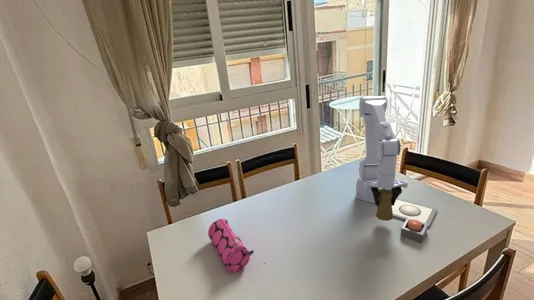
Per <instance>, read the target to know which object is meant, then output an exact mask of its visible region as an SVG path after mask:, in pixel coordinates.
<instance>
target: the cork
mask: <svg viewBox="0 0 534 300" xmlns="http://www.w3.org/2000/svg"><path fill="white" fill-rule="evenodd" d="M379 192H380V194H379V203H378V206H376V207H377V208H376V212H375V217H376V218H377V219H378V220H381V221H385V222H387V221H391V220H393V218H394V217H393V212H392V203H391V198H392V197H393V192H392V191H391V190H386V189H385V188H380V189H379Z"/></svg>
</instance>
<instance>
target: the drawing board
mask: <svg viewBox="0 0 534 300" xmlns="http://www.w3.org/2000/svg"><path fill="white" fill-rule="evenodd" d="M392 212H393V218H395V219H397V220H400V221H404V222H405V221H406V219H407V218H408V219H412V220H418V221H420V222H422V223H425V224H428V228H427V229H430V226H431V225H432V222H433V221H434V219H435V216H436V215H437V212H438V208H435V207H430V206H427V205H422V204H419V203H415V202H411V201H408V200H404V199H399V198H397V199H396V201H395V204H394V206H392Z"/></svg>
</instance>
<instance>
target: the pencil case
mask: <svg viewBox="0 0 534 300" xmlns="http://www.w3.org/2000/svg"><path fill="white" fill-rule="evenodd" d="M207 235H208V238H209V240H210V242H211V243H212V245H213V246H214V249H215V251H216V252H217V254H218V256H219V258H220V260H221V262H222V264H223V265H224V266H225V269H227V271H228V272H230V273H237V272H239V271H241V270H242V269H243V268H245V267H246V266H248V264H249V261H250V257H251V256H252V255H253V254H254V249H252V250H251V251H249V250H248V248H247V247H245V246H244V243H243V242H242V240H241V239H240V237H239V236H238V235H237V234H235V232H234V231H233V230H232V228H231V225H230V224H229V221H228V220H227V219H226V218H219V219H216V221H213V222H212V223H211V224H210V226H209V228H208V231H207Z"/></svg>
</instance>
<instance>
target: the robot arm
mask: <svg viewBox="0 0 534 300" xmlns="http://www.w3.org/2000/svg"><path fill="white" fill-rule="evenodd" d="M358 103H359V104H358V107H359V109H358V110H359V117H360V118H363V121H364V134H365V136H364V137H365V157H364V158H362V159H361V160H360V161H359V167H358V175H359V177H358V178H357V180H356V185H355V197H354V198H355V199H358V200H360V201H364V202H368V203H372V204H375V206H376V207H377V206H378V203H379V194H380V192H379V189H382V188H385V189H386V190H391V191H392V192H393V197H392V198H391V203H392V206H394V204H395V201H396V199H399V196H400V195H401V194H402V192H403V190H402V188H405V189H406V188H408V181H407V180H406V179H405V180H403V179H402V180H401V179H396V170H397V162H398V161H397V159H398V156H400V154H401V142H400V139H399V138H398V137H397V136H395V134H394V131H393V128H392V126H391V124H390V123H388V122H387V118H386V114H385V112H387V111H386V110H387V109H388V98H387V96H386V95H376V96H361V97H360V99H359V102H358Z"/></svg>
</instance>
